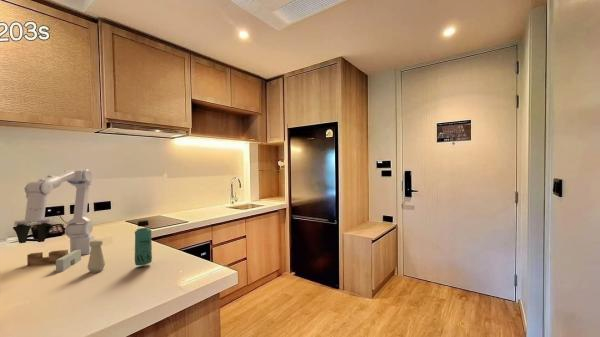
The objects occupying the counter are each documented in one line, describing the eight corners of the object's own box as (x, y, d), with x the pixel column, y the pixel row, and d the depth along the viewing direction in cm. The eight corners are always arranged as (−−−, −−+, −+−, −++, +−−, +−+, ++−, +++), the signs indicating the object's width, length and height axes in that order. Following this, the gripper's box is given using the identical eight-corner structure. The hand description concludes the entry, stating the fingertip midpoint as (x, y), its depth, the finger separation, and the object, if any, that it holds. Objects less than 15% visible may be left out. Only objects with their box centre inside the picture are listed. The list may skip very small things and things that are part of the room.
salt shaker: (95, 274, 104) (94, 242, 104) (83, 273, 105) (83, 241, 105) (108, 268, 110) (108, 238, 110) (97, 268, 111) (97, 238, 111)
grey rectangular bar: (74, 260, 122) (74, 250, 122) (81, 260, 122) (80, 249, 123) (56, 272, 107) (55, 260, 108) (63, 271, 108) (63, 259, 108)
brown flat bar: (68, 259, 123) (68, 249, 123) (65, 261, 121) (65, 251, 121) (31, 264, 119) (31, 253, 119) (27, 265, 116) (27, 254, 116)
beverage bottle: (131, 267, 110) (130, 221, 110) (146, 262, 116) (146, 218, 116) (140, 270, 107) (139, 222, 107) (155, 264, 113) (154, 219, 113)
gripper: (7, 210, 104) (2, 244, 101) (44, 208, 104) (39, 242, 102) (26, 210, 111) (21, 242, 108) (59, 208, 111) (56, 240, 109)
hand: (31, 242), depth 105 cm, fingers open, 7 cm apart
